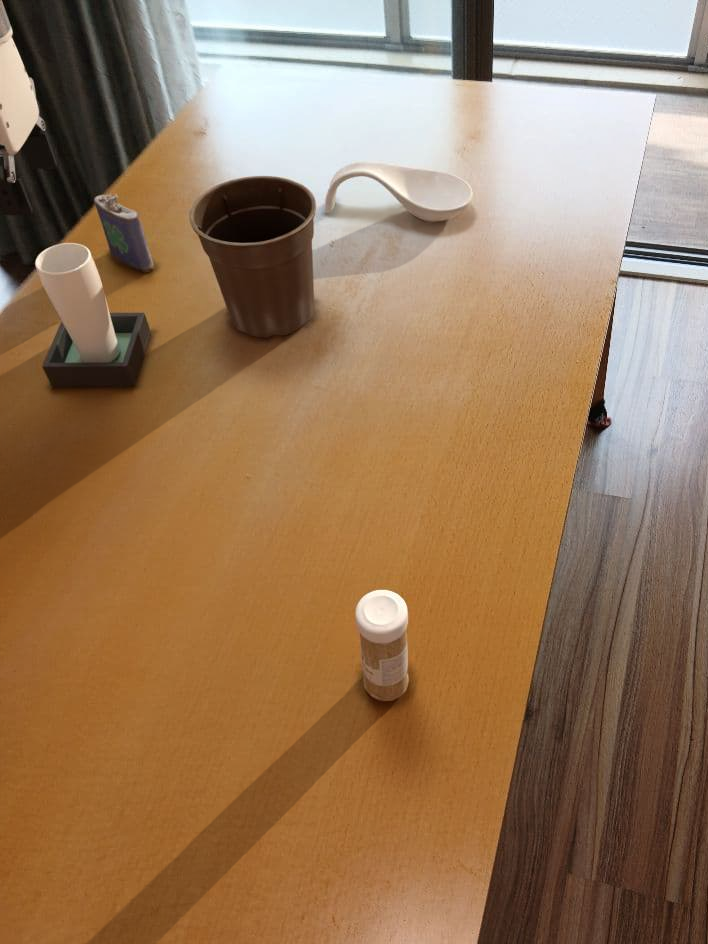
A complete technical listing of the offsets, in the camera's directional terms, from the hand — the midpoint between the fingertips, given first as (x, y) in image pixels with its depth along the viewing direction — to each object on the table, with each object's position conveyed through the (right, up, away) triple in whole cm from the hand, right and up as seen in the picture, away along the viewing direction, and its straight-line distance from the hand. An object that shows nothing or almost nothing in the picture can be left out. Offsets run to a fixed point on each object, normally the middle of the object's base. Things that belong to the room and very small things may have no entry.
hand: (31, 190), depth 92 cm
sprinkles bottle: (+40, -54, -11) cm, 68 cm away
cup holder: (+1, -15, +19) cm, 24 cm away
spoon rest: (+41, +14, +41) cm, 59 cm away
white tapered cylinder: (+1, -14, +19) cm, 24 cm away
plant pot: (+23, -7, +25) cm, 35 cm away
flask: (0, +3, +34) cm, 34 cm away
